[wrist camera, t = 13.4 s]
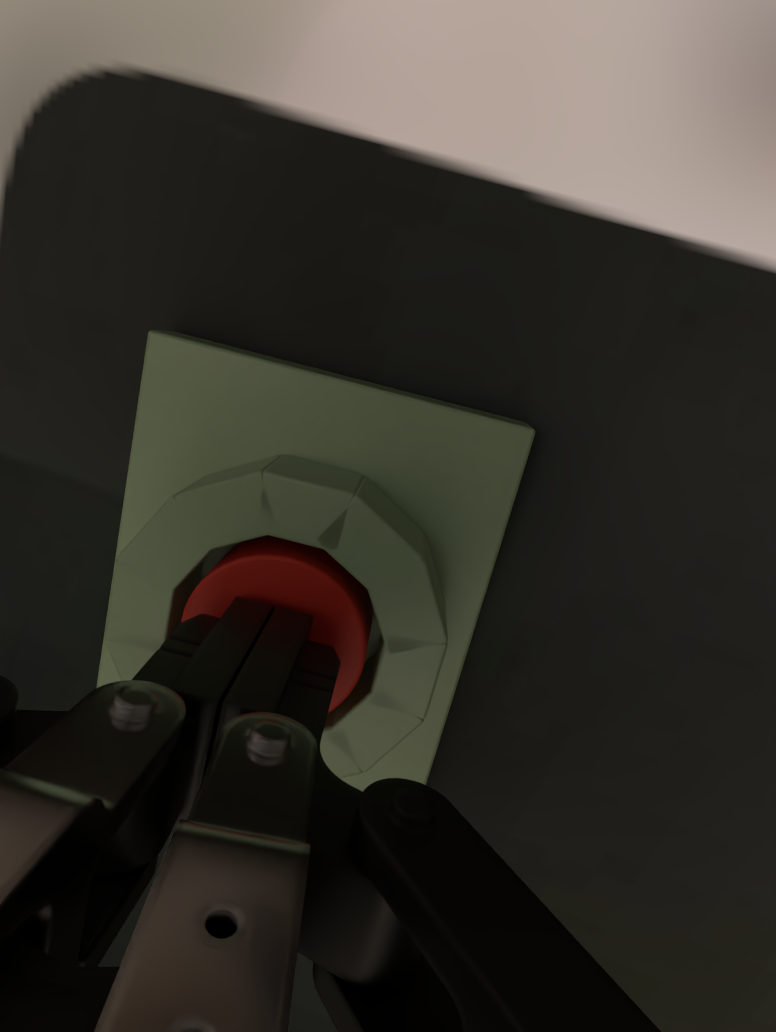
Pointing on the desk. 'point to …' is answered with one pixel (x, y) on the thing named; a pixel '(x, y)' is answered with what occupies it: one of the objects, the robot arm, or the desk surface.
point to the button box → (318, 523)
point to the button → (295, 597)
